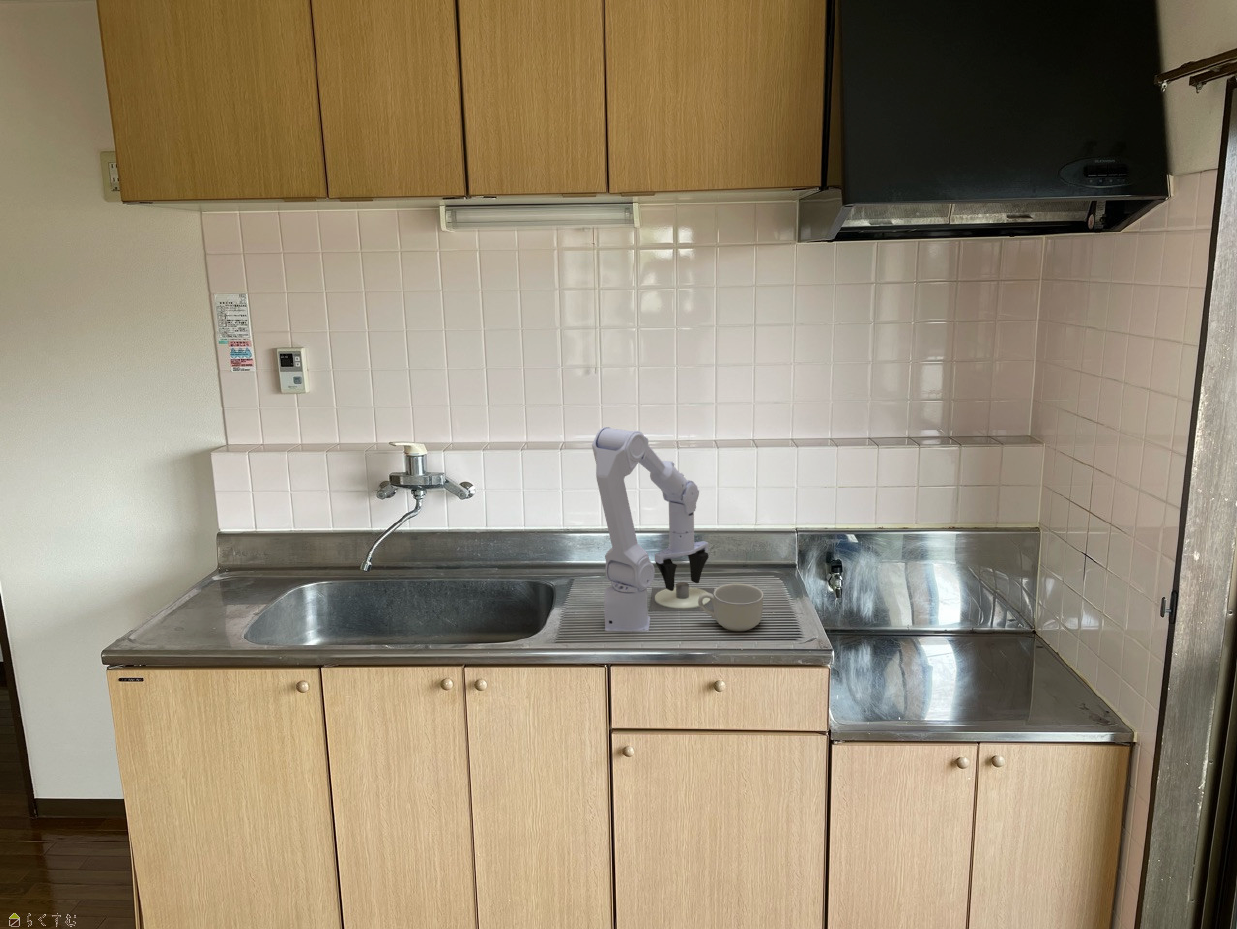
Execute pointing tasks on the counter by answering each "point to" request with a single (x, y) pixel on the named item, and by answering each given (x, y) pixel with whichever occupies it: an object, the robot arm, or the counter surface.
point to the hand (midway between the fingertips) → (682, 585)
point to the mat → (657, 607)
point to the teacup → (735, 606)
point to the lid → (680, 597)
